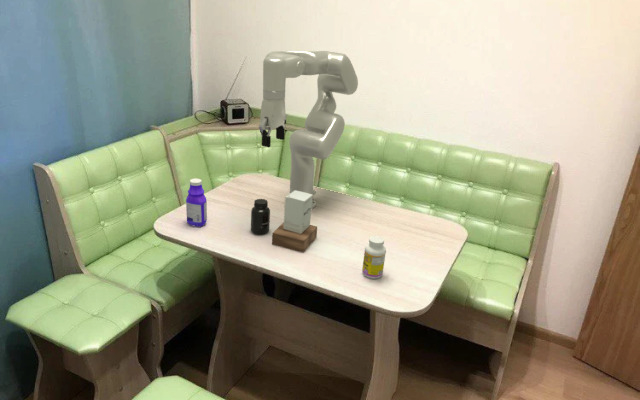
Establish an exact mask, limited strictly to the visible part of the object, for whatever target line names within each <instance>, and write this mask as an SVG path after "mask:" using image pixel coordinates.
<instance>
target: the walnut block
mask: <svg viewBox="0 0 640 400" xmlns="http://www.w3.org/2000/svg"><path fill="white" fill-rule="evenodd" d="M283 227H284V222H282V223H281V224H280V225H279V226H278V227H276V229H274V231H272V232H271V234H272V235H271V245H273V246H277V247H280V248H284V249H288V250H291V251H295V252H299V253H304V252H306V250H307V249H308V248H309V247H310V246H311V244H312V243H313V242H315V240H317V237H318V236H317V235H318V226H316V225H313V224H310V226H309V227H308V228H307V229H306V230H305V231H304V232H303V233H302V234H299V233H296V232H292V231H289V230H286V229H283Z"/></svg>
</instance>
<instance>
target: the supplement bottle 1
mask: <svg viewBox="0 0 640 400" xmlns="http://www.w3.org/2000/svg"><path fill="white" fill-rule="evenodd" d="M268 203H269V201H268V199H265V198H257V199H254V201H253V207H252V208H251V210H250V233H252V234H254V235H257V236H263V235H266V234H268V233H269V232H270V224H271V209H270V208H269V204H268Z"/></svg>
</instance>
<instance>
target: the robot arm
mask: <svg viewBox="0 0 640 400" xmlns="http://www.w3.org/2000/svg"><path fill="white" fill-rule="evenodd" d="M262 71H263V72H262V99H261V100H262V101H261V106H260V118H259V125H258V128H259V132H260V136H261V146H262V147H265V148H271V137H272V136H271V132H272V131H273V130H275V138H276V140H277V139H278V140H281V141H284V140H285V133H286V131H285V130H286V124H287V117H288V114H287V113H286V101H285V100H286V79H296V78H299V77H300V76H315V75H317V80H316V81H317V83H316V84H317V99H316V101H315V103H314V105H313V107H312V108H311V110H310V112H309V113H308V115H307V117H306V119H305V120H304V128H305V129H296V130H294V131H292V133H291V134H290V136H289V140H288V141H289V151H290V177H289V178H290V179H289V194H290V193H292V192H293V191H294V190H296V191H300V192H305V193H309V194H312V195H313V196H315V195H316V194H317V190H316V189H314V180H315V179H314V178H315V167H316V166H315V162H314V161H315V160H314V158H315V159H319V160H326V159H328V158H329V157H330V156H331V155H332V153H333V151H334V149H335V147H336V146H337V144H338V143H339V141H340V139H341V137H342V135H343V133H344V130H345V119H344V117H343V116H342V115H340V114H339V113H335V111H336V110H337V103H336V99H335V97H334V95H333V93H336V94H341V95H347V96H349V95H353V94H355V93H356V91H357V89H358V85H359V80H358V76H357V74H356V71H355V68H354V66H353V63H352V61H351V59H350V57H348V56H347V54H345V53H342V52H335V51H328V50H319V51H316V50H315V51H314V50H313V51H311V50H310V51H305V50H304V51H300V50H298V51H288V50H287V51H286V50H285V51H284V50H283V51H282V50H280V51H278V50H276V51H275V50H274V51H271V52H269V53H267V54H266V56H265V57H264V58H263V61H262ZM316 202H317V201H316V200H315V199H314V198H312V209H314V208H315V207H316V206H317V205H316V204H317V203H316Z"/></svg>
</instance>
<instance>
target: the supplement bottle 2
mask: <svg viewBox="0 0 640 400" xmlns="http://www.w3.org/2000/svg"><path fill="white" fill-rule="evenodd" d="M384 244H385V239H384V238H383V237H381V236H378V235H371V236H370V237H369V239H368V243H367V244H366V245H365V246H364V253H363V255H364V256H363V263H362V270H361V272H362V273H361V274H363V276H364V277H366V278H368V279H372V280H375V279H377V280H378V279H379V278H381V277H382V276H383V274H384V273H383V272H384V266H385V261H386V260H385V259H386V252H387V248H386V247H385V245H384Z"/></svg>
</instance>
